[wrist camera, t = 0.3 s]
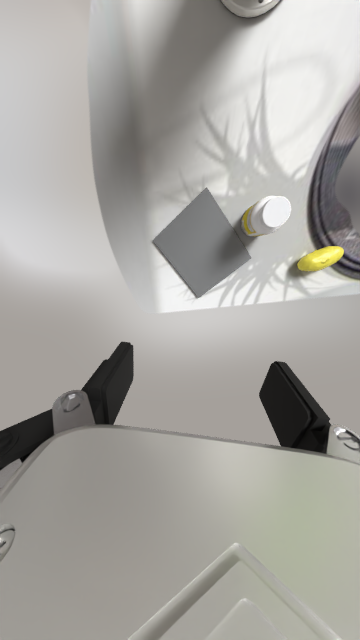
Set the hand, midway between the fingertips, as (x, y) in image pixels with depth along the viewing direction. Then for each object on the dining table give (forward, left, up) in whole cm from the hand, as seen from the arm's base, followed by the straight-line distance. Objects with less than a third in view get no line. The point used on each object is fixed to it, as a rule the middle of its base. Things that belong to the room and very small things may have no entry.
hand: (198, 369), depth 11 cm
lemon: (-22, +12, -31) cm, 40 cm away
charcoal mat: (-5, -4, -30) cm, 31 cm away
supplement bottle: (-16, -2, -31) cm, 35 cm away
